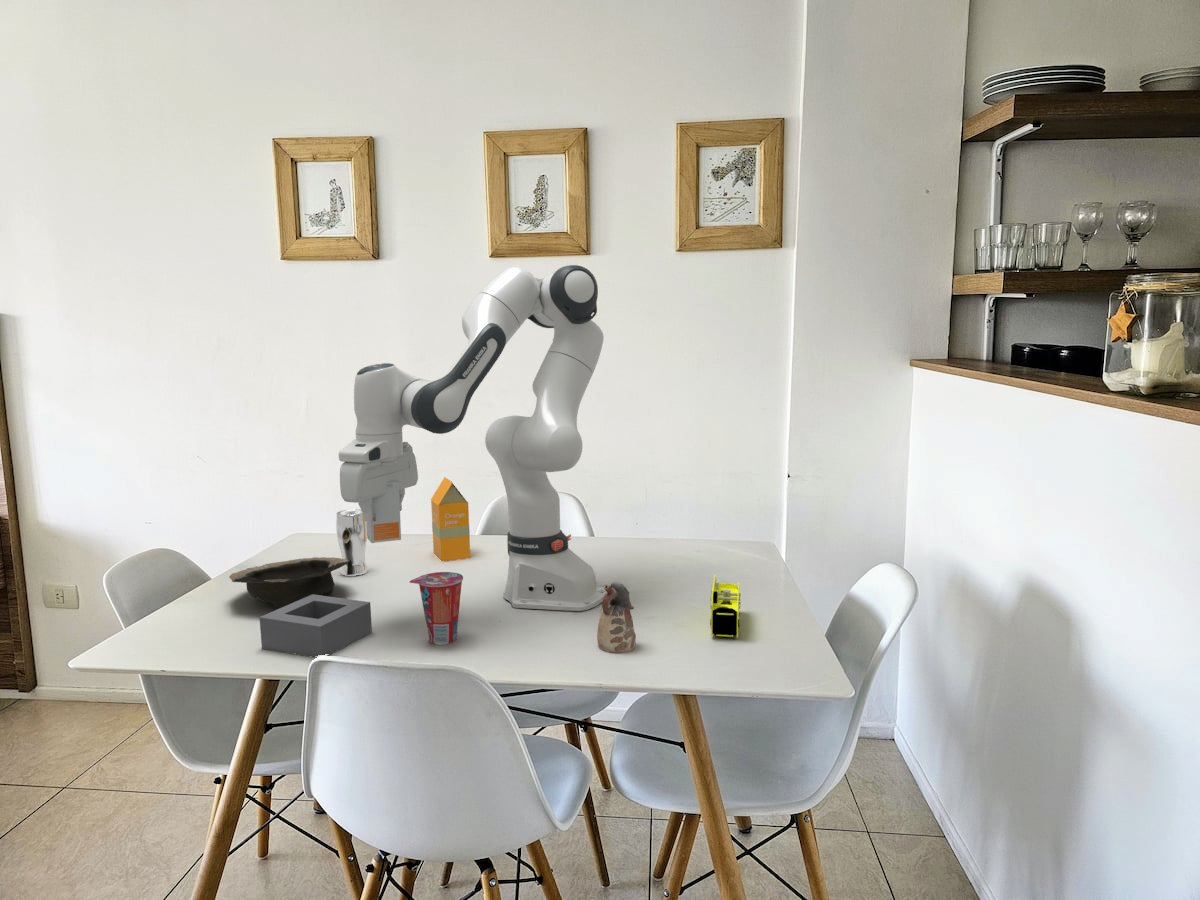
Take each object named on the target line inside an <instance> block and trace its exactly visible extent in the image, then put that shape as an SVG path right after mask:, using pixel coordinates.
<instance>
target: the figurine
mask: <svg viewBox="0 0 1200 900" xmlns="http://www.w3.org/2000/svg"><path fill="white" fill-rule="evenodd" d="M603 588H604V589H605V590H606V592H607V594H606V595H605V596H604V598H603V601H602V602H601V608H602V609H601V612H600V615H599V620H598V625H597V633H596V638H597V644H598V645H597V646H598V648H599V649H600V650H602V651H604V652H606V653H613V654H624V653H628V652H632V651H633V650H634V649H635V646H636V644H637V642H636V641H637V638H636V637H637V636H636V635H637V634H636V632H635V627H634V626H635V625H634V621H633V616H632V613H631V610H634V609H635V607H634V605H633V604H632V602H631V600H630V590H629V589H628V588H627V587H626V586H624V584H622V583H621V582H618V581H614V582H612V583H611V584H606V585H604V586H603Z"/></svg>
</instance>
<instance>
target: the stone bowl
mask: <svg viewBox="0 0 1200 900" xmlns="http://www.w3.org/2000/svg"><path fill="white" fill-rule="evenodd" d="M351 560H352V559H351ZM349 561H350V560H348V561H347V559H342V557H334V556H333V557H325V556H324V557H323V556H322V557H321V556H320V557H316V556H315V557H309V558H308V557H306V558H296V559H290V560H285V561H284V560H283V561H278V562H270V563H266V564H262V565H260V566H256V565H255V566H252V567H248V568H246V569H242V570H240V571H237V572H234V573H233V572H232V573H231V574H230V575H229V577H228V578H229V579H230V580H231V583H244V584H245V583H246V584H245V585H246V590H247V592H248V594H249V595H250V596H251V597H253V598H255V599H256V598H257V599H258V600H259V601H261V602H264V603H265V602H267V603H271V604H272V605H273V609H274V611H275V610H277V609H280V608H282V607H284V606H287V605H289V604H291V603H294V602H296V601H298V600H301V599H303V598H305V597H308V596H310V595H312V594H314V595H321V596H324V595H325V596H328V595H331V594H332V593H333V592H334V587H335V581H334V578H333V575H332V572H333V571H335V570H338V569H341V568H342V566H344V565H346V564H347V563H348V562H349Z"/></svg>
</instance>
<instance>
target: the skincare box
mask: <svg viewBox="0 0 1200 900" xmlns="http://www.w3.org/2000/svg"><path fill="white" fill-rule="evenodd" d="M370 506H371V508H372V511H375V512H376V515H375V516H376V519H375V520H373V521H370V522H368V521H366V523H367V540H368V541H369V542H370V543H371V544H375V543H384V542H391V541H392V542H393V541H402V531H401V529H402V528H401V511H400V496H399V481H397V480H392V481H389V482H386V493H385V494H384V495H382V496H378V497H375V498H372V504H370Z"/></svg>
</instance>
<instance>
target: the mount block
mask: <svg viewBox="0 0 1200 900" xmlns="http://www.w3.org/2000/svg"><path fill="white" fill-rule="evenodd" d="M371 609H372V608H371V601H365V600H364V601H363V600H356V599H349V598H342V597H335V596H328V595H325V596H321V595H314V594H312V595H310V596H308V597H305V598H303V599H301V600H298V601H296V602H294V603H291V604H289V605H287V606H284V607H282V608H280V609H277V610H275V609H274V610H273V611H271V612H268V613H266V614H263V615H261V616H260V617H259V627H260V628H259V629H260V642H261V649H264V650H268V649H270V651H274V650H277V651H276V652H280V651H282V652H281V653H286V652H289V653H288V654H291V653H296V654H295V655H297V654H300V655H299V656H303V655H306V656H305V657H309V656H312V657H311V658H315V656H318V655H325V654H330V655H332V654H334V653H336V652H338V651H339V650H341V649H344V648H345V647H347V646H348V645H351V644H352V643H354V642H357V641H358V640H360V639H362V638H364V637H366V636H368V635H369V634H371V633H372V631H373V627H372V612H371V611H372V610H371ZM337 650H338V651H337ZM333 652H334V653H333Z"/></svg>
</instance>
